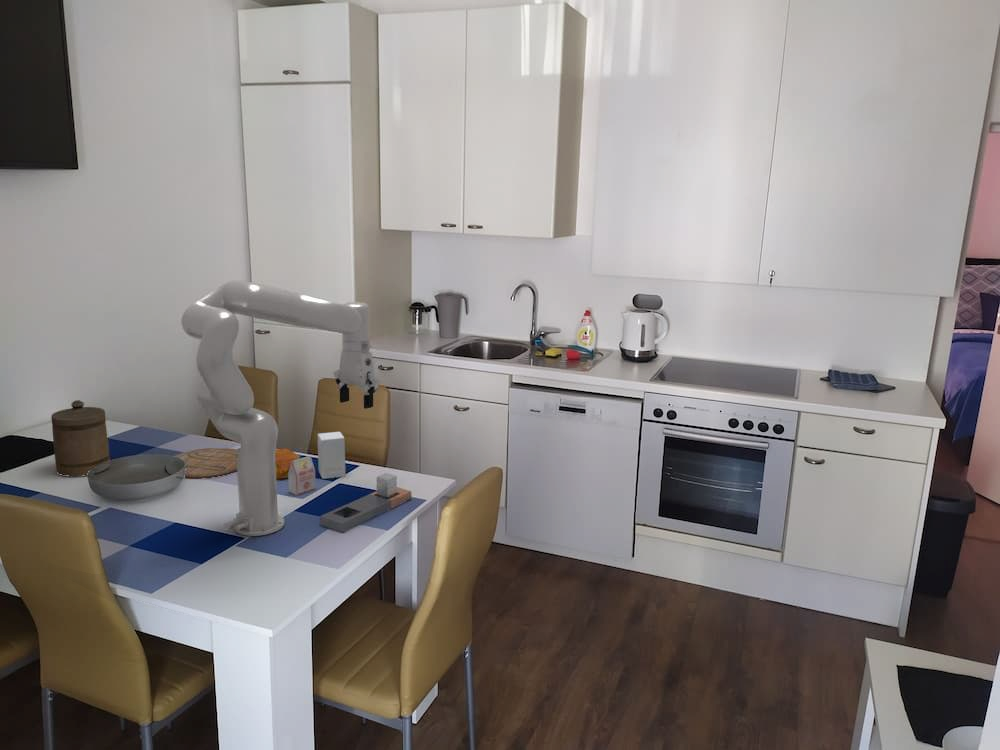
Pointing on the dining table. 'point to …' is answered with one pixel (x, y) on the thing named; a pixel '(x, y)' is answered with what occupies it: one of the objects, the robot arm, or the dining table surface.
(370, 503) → the rail
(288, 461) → the croissant
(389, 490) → the steel peg
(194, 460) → the trivet
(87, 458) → the wooden container
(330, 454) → the supplement box
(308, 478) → the white printed paper bag
